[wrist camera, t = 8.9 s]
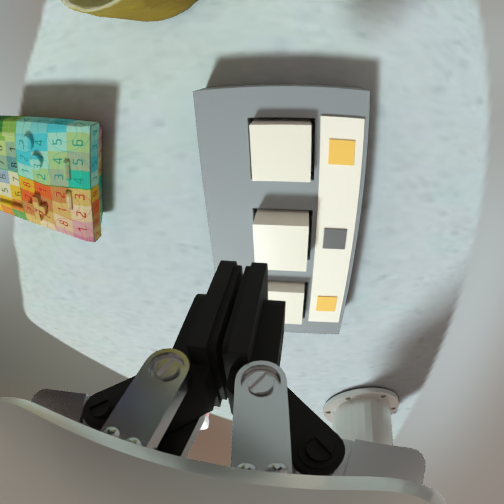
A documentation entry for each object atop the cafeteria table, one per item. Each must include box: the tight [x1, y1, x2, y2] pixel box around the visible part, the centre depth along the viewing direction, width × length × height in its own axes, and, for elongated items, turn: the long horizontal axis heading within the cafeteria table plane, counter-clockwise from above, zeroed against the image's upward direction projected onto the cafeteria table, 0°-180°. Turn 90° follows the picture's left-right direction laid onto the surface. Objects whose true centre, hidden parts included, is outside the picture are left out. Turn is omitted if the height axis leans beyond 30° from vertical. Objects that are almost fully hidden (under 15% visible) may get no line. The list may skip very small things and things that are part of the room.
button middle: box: [253, 208, 309, 272], centre depth 24 cm, size 4×4×3 cm
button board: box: [193, 84, 370, 334], centre depth 26 cm, size 12×23×3 cm, turn 3°
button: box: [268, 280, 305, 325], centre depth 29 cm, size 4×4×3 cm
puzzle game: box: [0, 116, 103, 242], centre depth 25 cm, size 12×5×20 cm
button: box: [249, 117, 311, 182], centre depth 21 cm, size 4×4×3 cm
